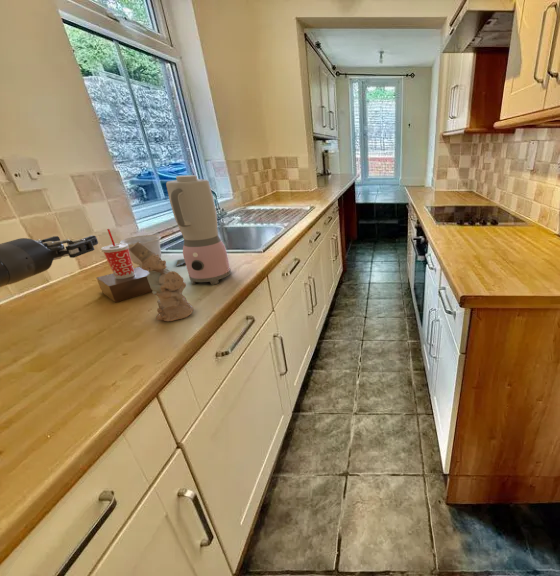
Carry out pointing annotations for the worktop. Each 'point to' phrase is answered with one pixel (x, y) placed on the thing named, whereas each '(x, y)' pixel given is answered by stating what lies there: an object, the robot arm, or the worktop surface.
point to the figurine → (163, 285)
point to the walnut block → (125, 285)
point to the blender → (198, 229)
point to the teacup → (148, 241)
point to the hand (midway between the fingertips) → (77, 239)
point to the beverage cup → (119, 259)
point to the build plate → (181, 262)
